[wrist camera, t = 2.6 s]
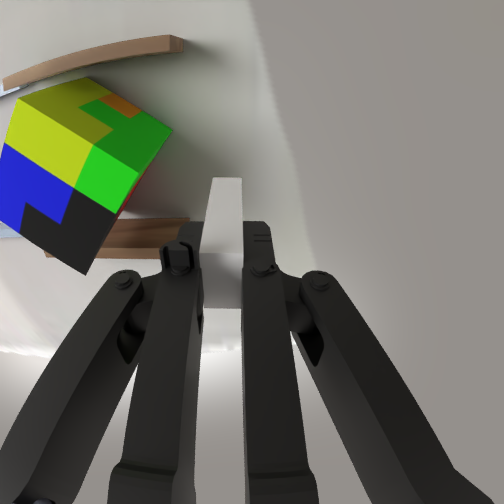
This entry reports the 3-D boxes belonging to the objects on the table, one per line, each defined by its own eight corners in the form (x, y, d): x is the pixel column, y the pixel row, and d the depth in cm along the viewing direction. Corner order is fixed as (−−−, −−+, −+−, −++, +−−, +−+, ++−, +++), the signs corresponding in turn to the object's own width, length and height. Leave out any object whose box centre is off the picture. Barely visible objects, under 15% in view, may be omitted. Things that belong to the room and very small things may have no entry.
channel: (34, 70, 18) (2, 78, 14) (183, 38, 19) (169, 34, 15) (65, 230, 29) (46, 257, 25) (190, 228, 30) (183, 259, 26)
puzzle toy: (48, 163, 24) (-9, 213, 16) (86, 77, 19) (17, 98, 12) (122, 210, 28) (85, 275, 20) (173, 129, 24) (138, 173, 16)
